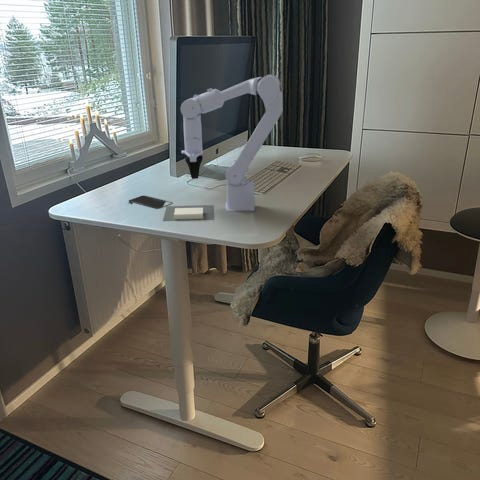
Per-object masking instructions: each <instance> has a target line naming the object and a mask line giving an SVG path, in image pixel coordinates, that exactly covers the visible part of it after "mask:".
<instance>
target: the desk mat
mask: <svg viewBox="0 0 480 480" xmlns="http://www.w3.org/2000/svg"><path fill="white" fill-rule="evenodd" d="M175 208H203V219H174V212H175ZM164 210H165V211H164V215H163V218H162V222H181V221H182V222H183V221H184V222H186V221H214V220H215V206H214V204H208V205H207V204H205V205H204V204H202V205H200V204H199V205H168V206H165V209H164Z"/></svg>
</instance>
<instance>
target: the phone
mask: <svg viewBox="0 0 480 480" xmlns="http://www.w3.org/2000/svg"><path fill="white" fill-rule="evenodd" d="M166 202H167V203H168V204H166V205H165V203H166ZM128 204H130V205H134V204H136V205H139V206H143V207H149V208H152V209H155V210H159V209H162V208H163V209H164V208H166V207H167V206H171V205H173V201H168V200H164V199H160V198H156V197H151V196H149V195H140V196H138V197H137V196H136V197H135V198H132V199H128Z"/></svg>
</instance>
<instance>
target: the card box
mask: <svg viewBox="0 0 480 480" xmlns="http://www.w3.org/2000/svg"><path fill="white" fill-rule="evenodd" d="M174 219H203V208H175V212H174Z"/></svg>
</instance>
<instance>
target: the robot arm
mask: <svg viewBox="0 0 480 480" xmlns="http://www.w3.org/2000/svg"><path fill="white" fill-rule="evenodd" d="M246 94H250V95H253V96H257V94H258V96H259V97H260V98H261V100H262V101H263V105H264V108H265V112H264V113H263V116H262V117H261V119H260V121H259V123H258V124H257V125H256V128H255V129H254V131H253V132H252V134H251V136H250V137H249V139H248V141H246V144H245V145H244V146H243V149H242V150H241V152H240V153H239V155H238V156H237V158H236V159H235V160H233V161H232V162H231V163H230V165H229V167H227V169H226V171H225V173H224V175H225V180H226V183H225V184H226V185H225V186H226V187H225V189H226V202H225V204H224V205H225V211H226V212H229V211H230V212H231V211H233V212H234V211H235V212H236V211H238V212H239V211H250V212H255V204H256V199H255V197H256V196H255V194H256V193H255V192H256V191H255V183H254V182H253V181H249V180H248V178H247V177H246V176H247V175H248V173H249V167H250V165H251V163H252V162H253V160H254V159H255V157H256V155H257V154H258V152H259V151H260V149H261V147H262V146H263V144H264V143H265V141H266V139H267V138H268V137H269V135H270V133H271V131H272V129H273V128H274V127H275V125H276V123H277V121H278V120H279V119H280V117H281V115H282V113H283V111H284V110H283V86H282V84H281V80H280V79H279V77H278V76H276V75H275V74H266V75H265V76H263V77H262V76H258V77H254V78H250V79H247V80H245V81H242V82H240V83H238V84H235V85H233V86H231V87H230V86H229V88H226V89H224V90H222V91H221V90H219V89H217V88H214V89H213V88H212V87H211V88H210V87H209V88H207V89H206V92H203V93H201V94H194V95H193V97H191V98H188V99H185V100H184V101H183V102H182V103H181V105H180V113H181V114H182V117H183V118H182V119H183V139H184V150H181V152H180V153H181V154H182V155H183V154H184V155H186V156H185V157H184V159H185V160H184V161H185V163H186V164H187V167H188V169H189V175H190V177H191V179H192V180H193V179H194V180H195V179H196V180H197V179H199V177H200V167H201V163H202V162H203V155H202V154H203V153H204V149H203V133H202V131H203V130H202V121H201V120H202V117H201V114H204V115H205V114H206V113H209V112H212V111H214V110H217V109H220V108H222V107H223V105H224V104H225V102H226V101H229V100H231V99H234V98H236V97H240V96H243V95H246Z"/></svg>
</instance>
